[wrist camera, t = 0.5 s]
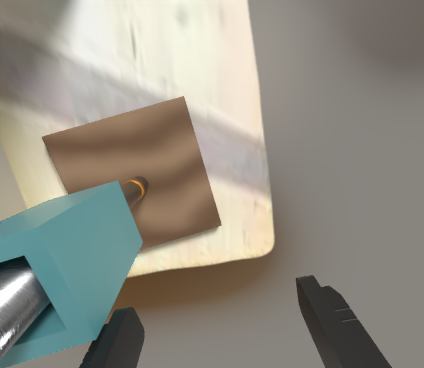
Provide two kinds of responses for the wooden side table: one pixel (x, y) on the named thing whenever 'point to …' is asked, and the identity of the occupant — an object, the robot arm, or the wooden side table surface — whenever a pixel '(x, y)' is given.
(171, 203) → the stand board
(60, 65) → the wooden side table surface
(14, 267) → the pipe
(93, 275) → the sleeve
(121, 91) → the wooden side table surface
